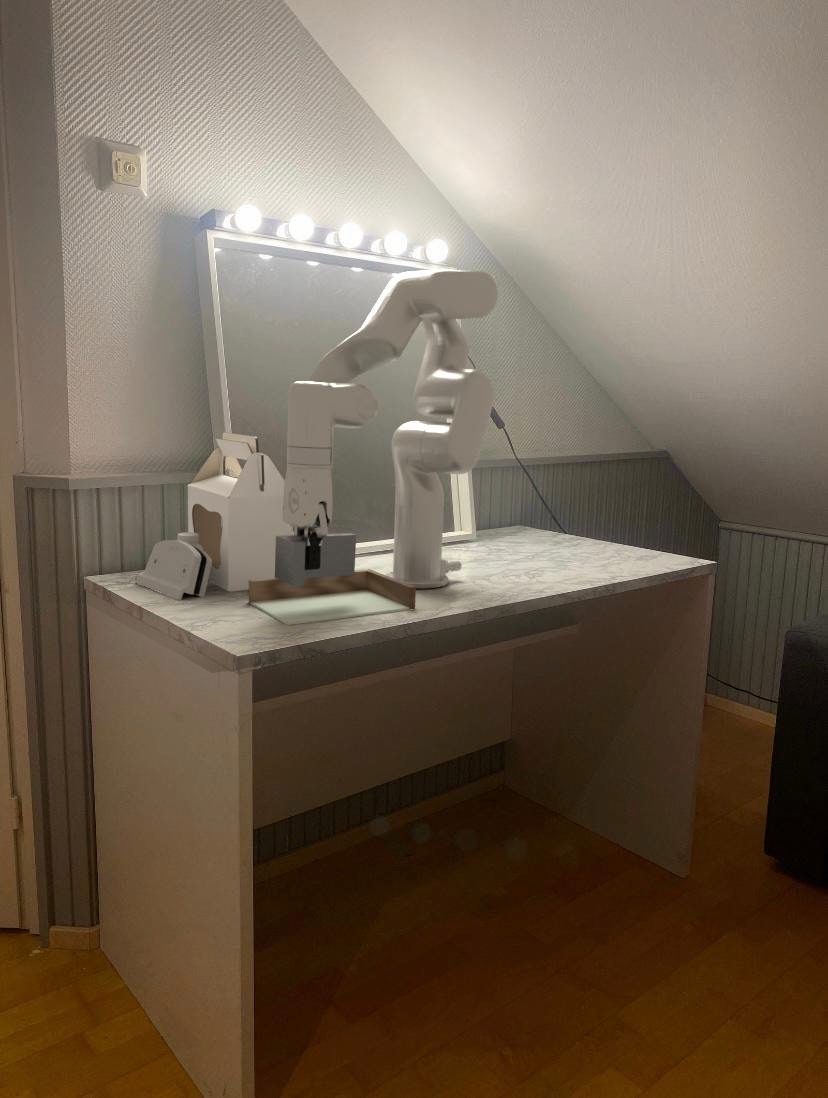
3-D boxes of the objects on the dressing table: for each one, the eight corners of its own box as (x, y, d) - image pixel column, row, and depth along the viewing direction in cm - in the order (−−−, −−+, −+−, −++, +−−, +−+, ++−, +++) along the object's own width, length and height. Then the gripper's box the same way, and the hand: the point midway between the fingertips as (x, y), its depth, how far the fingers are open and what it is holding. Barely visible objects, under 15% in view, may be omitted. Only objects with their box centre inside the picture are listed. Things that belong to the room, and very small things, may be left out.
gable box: (187, 570, 170) (186, 431, 165) (248, 564, 178) (249, 431, 173) (229, 592, 152) (228, 437, 147) (295, 586, 159) (296, 437, 155)
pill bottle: (190, 575, 165) (190, 530, 164) (208, 579, 162) (208, 533, 161) (168, 579, 161) (168, 533, 159) (187, 583, 158) (186, 537, 157)
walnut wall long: (368, 590, 158) (369, 569, 157) (372, 591, 157) (372, 570, 156) (248, 602, 145) (248, 580, 144) (251, 604, 144) (251, 581, 143)
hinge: (134, 583, 157) (149, 532, 157) (156, 588, 160) (171, 538, 161) (179, 600, 145) (196, 545, 146) (202, 605, 148) (218, 551, 149)
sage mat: (366, 592, 156) (366, 589, 156) (409, 610, 144) (409, 607, 144) (251, 604, 144) (251, 602, 144) (287, 625, 132) (287, 622, 132)
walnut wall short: (372, 591, 157) (372, 570, 156) (415, 609, 145) (415, 586, 144) (366, 592, 156) (367, 571, 156) (409, 610, 144) (410, 587, 144)
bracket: (274, 577, 139) (275, 535, 138) (348, 572, 147) (350, 533, 146) (292, 585, 133) (294, 542, 132) (368, 580, 141) (370, 539, 140)
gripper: (269, 454, 142) (267, 561, 146) (310, 461, 129) (307, 578, 132) (309, 454, 147) (306, 558, 150) (353, 461, 133) (349, 575, 136)
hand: (307, 567), depth 141 cm, fingers closed on bracket
